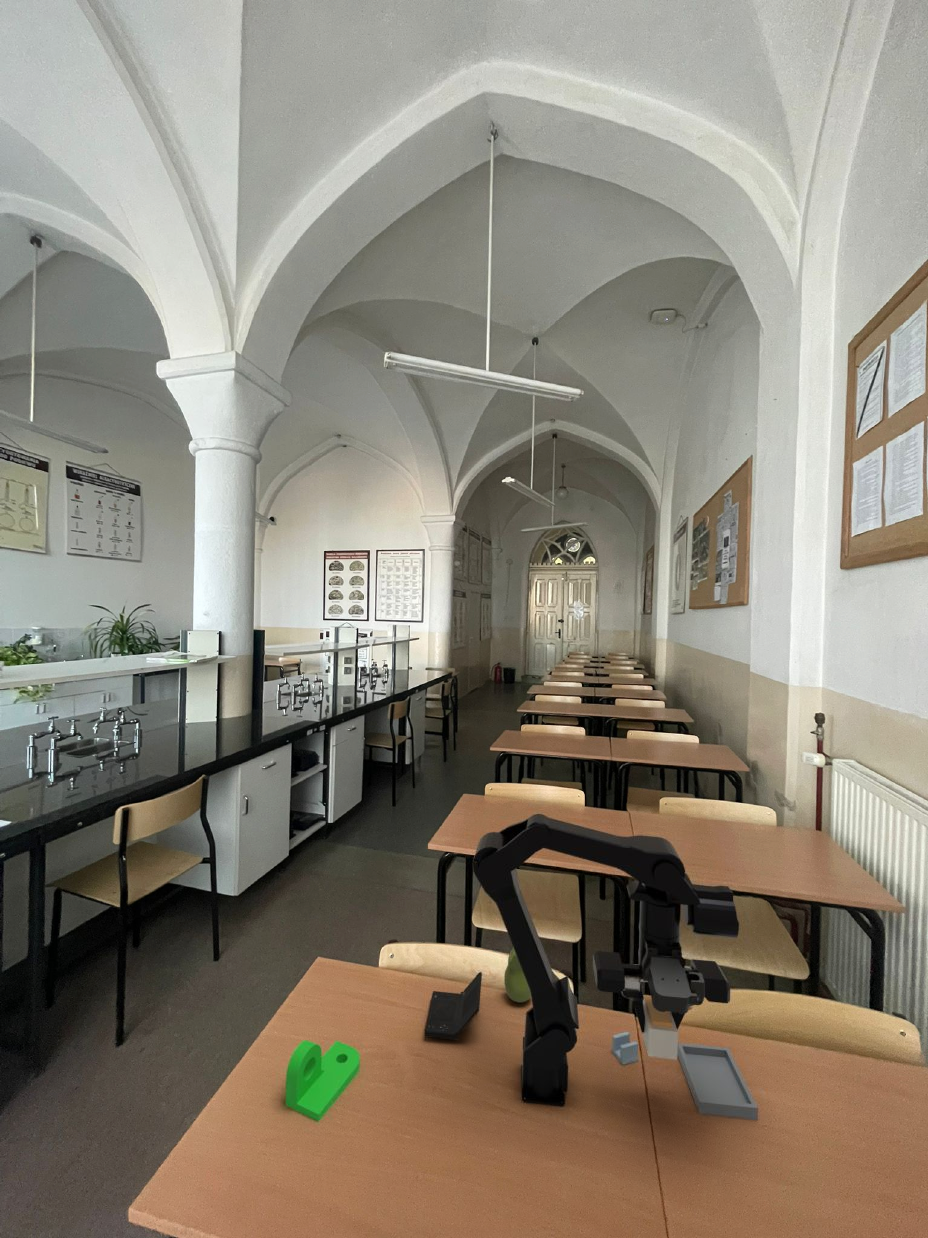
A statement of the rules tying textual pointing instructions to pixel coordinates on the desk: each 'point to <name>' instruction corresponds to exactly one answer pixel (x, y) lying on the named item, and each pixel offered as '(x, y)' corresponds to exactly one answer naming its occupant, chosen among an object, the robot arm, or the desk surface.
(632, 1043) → the clip
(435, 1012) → the handheld gaming console
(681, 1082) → the desk surface
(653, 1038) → the white orange block
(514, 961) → the pear
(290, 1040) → the desk surface
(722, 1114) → the grey rectangular tray
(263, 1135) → the desk surface
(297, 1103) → the mechanical part
